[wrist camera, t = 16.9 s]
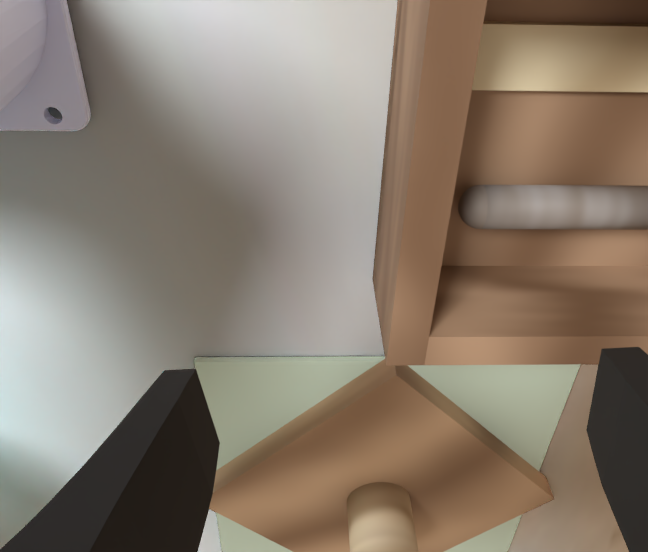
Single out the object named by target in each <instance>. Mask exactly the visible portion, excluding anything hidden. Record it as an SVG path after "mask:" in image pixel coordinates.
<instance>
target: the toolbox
mask: <svg viewBox="0 0 648 552" xmlns="http://www.w3.org/2000/svg"><path fill="white" fill-rule="evenodd" d="M373 284H374V291H375V297H376V303H377V310H378V316H379V322H380V328H381V335H382V341H383V347H384V354H385V360H386V366H392V365H565V364H599V360H600V355H601V349H604V348H624V347H640V348H641V349H642V350H643V351H644V352H645V353H646V354H648V0H398V4H397V15H396V26H395V37H394V48H393V59H392V70H391V81H390V93H389V104H388V115H387V126H386V137H385V148H384V159H383V170H382V181H381V192H380V203H379V215H378V226H377V237H376V248H375V259H374V270H373Z"/></svg>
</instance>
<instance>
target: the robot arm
mask: <svg viewBox="0 0 648 552" xmlns="http://www.w3.org/2000/svg"><path fill="white" fill-rule="evenodd" d="M49 107H53V108H56V109H57V110H59V111H60V113H61V115H62V119H56V118H54V117H53V116H51V115H50V113H49V111H48V108H49ZM90 118H91V111H90V107H89V102H88V97H87V93H86V88H85V83H84V79H83V74H82V69H81V65H80V60H79V55H78V51H77V46H76V41H75V37H74V32H73V27H72V23H71V18H70V14H69V9H68V4H67V0H0V131H79V130H82V129H83V128H84V127H86V125H87V124H88V122H89V120H90ZM587 433H588V437H589V440H590V444H591V448H592V452H593V456H594V459H595V463H596V466H597V470H598V473H599V477H600V480H601V483H602V486H603V489H604V491H605V494H606V496H607V499H608V501H609V504H610V506H611V509H612V511H613V513H614V516H615V518H616V521H617V523H618V526H619V528H620V530H621V533H622V535H623V538H624V540H625V542H626V545H627V547H628V550H629V552H648V354H646V353H645V352H644V351H643V350H642V349H641V348H640V347H624V348H604V349H601V355H600V360H599V365H598V371H597V376H596V382H595V387H594V393H593V398H592V404H591V409H590V414H589V420H588V425H587ZM219 445H220V442H219V439H218V436H217V433H216V429H215V426H214V423H213V420H212V417H211V414H210V411H209V408H208V405H207V401H206V398H205V395H204V392H203V389H202V386H201V383H200V380H199V377H198V374H197V370H196V369H184V370H165V371H164V372H163V373H162V374H161V375H160V376H159V377H158V379H157V380H156V381H155V382H154V383H153V384H152V386H151V387H150V388H149V389H148V390H147V392H146V393H145V394H144V395H143V396H142V398H141V399H140V400H139V401H138V402H137V404H136V405H135V406H134V407H133V408H132V410H131V411H130V412H129V413H128V414H127V416H126V417H125V418H124V419H123V420H122V422H121V423H120V424H119V425H118V426H117V428H116V429H115V430H114V431H113V432H112V433H111V435H110V436H109V437H108V438H107V439H106V440H105V441H104V443H103V444H102V445H101V446H100V447H99V448H98V450H97V451H96V452H95V453H94V454H93V455H92V456H91V458H90V459H89V460H88V461H87V462H86V463H85V464H84V466H83V467H82V468H81V469H80V470H79V471H78V472H77V473H76V474H75V475H74V476H73V477H72V479H71V480H70V481H69V482H68V483H67V484H66V485H65V486H64V487H63V488H62V489H61V490H60V491H59V492H58V493H57V494H56V495H55V497H54V498H53V499H52V500H51V501H50V502H49V503H48V504H47V505H46V506H45V507H44V508H43V509H42V510H41V511H40V512H39V513H38V514H37V515H36V516H35V517H34V518H33V519H32V520H31V521H30V522H29V523H28V524H27V525H26V526H25V527H24V528H23V529H22V530H21V531H20V532H19V533H18V534H17V535H15V536H14V537H13V538H12V539H11V540H10V541H9V542H8V543H7V544H6V545H5V546H3V547H2V548H1V549H0V552H197V551H198V547H199V544H200V540H201V536H202V533H203V529H204V525H205V521H206V518H207V514H208V510H209V506H210V502H211V499H212V494H213V488H214V482H215V475H216V468H217V461H218V453H219Z"/></svg>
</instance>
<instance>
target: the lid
mask: <svg viewBox="0 0 648 552" xmlns="http://www.w3.org/2000/svg"><path fill="white" fill-rule="evenodd" d="M553 499H554V497H553V494H552V492H551V489H550V486H549V484H548V481H547V478H546V477H545V476H544V475H543V474H541V473H540V472H539V471H538V470H536V469H535V468H534V467H533V466H531V465H530V464H529V463H528V462H527V461H525V460H524V459H523V458H522V457H520V456H519V455H518V454H517V453H515V452H514V451H513V450H512V449H510V448H509V447H508V446H507V445H505V444H504V443H503V442H502V441H501V440H499V439H498V438H497V437H496V436H494V435H493V434H492V433H491V432H489V431H488V430H487V429H486V428H484V427H483V426H482V425H481V424H479V423H478V422H477V421H476V420H474V419H473V418H472V417H471V416H470V415H468V414H467V413H466V412H465V411H463V410H462V409H461V408H460V407H458V406H457V405H456V404H455V403H453V402H452V401H451V400H450V399H448V398H447V397H446V396H445V395H443V394H442V393H441V392H440V391H439V390H437V389H436V388H435V387H434V386H432V385H431V384H430V383H429V382H427V381H426V380H425V379H424V378H422V377H421V376H420V375H419V374H417V373H416V372H415V371H414V370H413V369H411V368H410V367H409V366H408V365H392V366H386V360H385V359H384V360H382V361H381V362H379V363H378V364H376V365H375V366H373V367H372V368H370V369H368V370H367V371H365V372H364V373H362V374H361V375H359V376H358V377H356V378H355V379H353V380H352V381H350V382H349V383H347V384H346V385H344V386H343V387H341V388H340V389H338V390H337V391H335V392H334V393H332V394H331V395H329V396H328V397H326V398H325V399H323V400H322V401H320V402H319V403H317V404H316V405H314V406H313V407H311V408H310V409H308V410H307V411H305V412H304V413H302V414H301V415H299V416H298V417H296V418H295V419H293V420H292V421H290V422H289V423H287V424H286V425H284V426H283V427H281V428H280V429H278V430H277V431H275V432H274V433H272V434H271V435H269V436H268V437H266V438H265V439H263V440H262V441H260V442H258V443H257V444H255V445H254V446H252V447H251V448H249V449H248V450H246V451H245V452H243V453H242V454H240V455H239V456H237V457H236V458H234V459H233V460H231V461H230V462H228V463H227V464H225V465H224V466H222V467H221V468H219V469H218V470H216V475H215V482H214V488H213V494H212V499H211V502H210V506H209V509H211V510H213V511H214V512H216V513H218V514H220V515H222V516H224V517H226V518H228V519H230V520H232V521H234V522H236V523H238V524H240V525H242V526H244V527H246V528H248V529H250V530H252V531H254V532H255V533H257V534H259V535H261V536H263V537H265V538H267V539H269V540H271V541H273V542H275V543H277V544H279V545H281V546H283V547H285V548H287V549H289V550H291V551H293V552H444V551H446V550H448V549H450V548H452V547H454V546H457V545H459V544H461V543H463V542H465V541H467V540H469V539H471V538H473V537H475V536H478V535H480V534H482V533H484V532H486V531H488V530H490V529H492V528H494V527H496V526H499V525H501V524H503V523H505V522H507V521H509V520H511V519H513V518H515V517H517V516H520V515H522V514H524V513H526V512H528V511H530V510H532V509H534V508H536V507H538V506H540V505H543V504H545V503H547V502H549V501H551V500H553Z"/></svg>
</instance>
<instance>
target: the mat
mask: <svg viewBox="0 0 648 552" xmlns="http://www.w3.org/2000/svg"><path fill="white" fill-rule="evenodd" d="M384 359H385V356H330V357H195V360H194V365H195V369H196V370H197V374H198V377H199V380H200V383H201V386H202V389H203V392H204V395H205V398H206V401H207V405H208V408H209V411H210V414H211V417H212V420H213V423H214V426H215V429H216V433H217V436H218V439H219V442H220V445H219V453H218V461H217V468H216V470H218V469H219V468H221V467H222V466H224V465H225V464H227V463H228V462H230V461H231V460H233V459H234V458H236V457H237V456H239V455H240V454H242V453H243V452H245V451H246V450H248V449H249V448H251V447H252V446H254V445H255V444H257V443H258V442H260V441H262V440H263V439H265V438H266V437H268V436H269V435H271V434H272V433H274V432H275V431H277V430H278V429H280V428H281V427H283V426H284V425H286V424H287V423H289V422H290V421H292V420H293V419H295V418H296V417H298V416H299V415H301V414H302V413H304V412H305V411H307V410H308V409H310V408H311V407H313V406H314V405H316V404H317V403H319V402H320V401H322V400H323V399H325V398H326V397H328V396H329V395H331V394H332V393H334V392H335V391H337V390H338V389H340V388H341V387H343V386H344V385H346V384H347V383H349V382H350V381H352V380H353V379H355V378H356V377H358V376H359V375H361V374H362V373H364V372H365V371H367V370H368V369H370V368H372V367H373V366H375V365H376V364H378V363H379V362H381V361H382V360H384ZM580 365H581V364H565V365H408V366H409V367H410V368H411V369H413V370H414V371H415V372H416V373H417V374H419V375H420V376H421V377H422V378H424V379H425V380H426V381H427V382H429V383H430V384H431V385H432V386H434V387H435V388H436V389H437V390H439V391H440V392H441V393H442V394H443V395H445V396H446V397H447V398H448V399H450V400H451V401H452V402H453V403H455V404H456V405H457V406H458V407H460V408H461V409H462V410H463V411H465V412H466V413H467V414H468V415H470V416H471V417H472V418H473V419H474V420H476V421H477V422H478V423H479V424H481V425H482V426H483V427H484V428H486V429H487V430H488V431H489V432H491V433H492V434H493V435H494V436H496V437H497V438H498V439H499V440H501V441H502V442H503V443H504V444H505V445H507V446H508V447H509V448H510V449H512V450H513V451H514V452H515V453H517V454H518V455H519V456H520V457H522V458H523V459H524V460H525V461H527V462H528V463H529V464H530V465H531V466H533V467H534V468H535V469H536V470H538V471H539V470H540V468H541V465H542V462H543V460H544V457H545V455H546V452H547V450H548V447H549V444H550V442H551V439H552V437H553V434H554V432H555V429H556V426H557V424H558V421H559V419H560V416H561V414H562V411H563V408H564V406H565V403H566V401H567V398H568V396H569V393H570V391H571V388H572V385H573V383H574V380H575V378H576V375H577V373H578V370H579V367H580ZM216 516H217V522H218V529H219V536H220V543H221V550H222V552H293V551H291V550H289V549H287V548H285V547H283V546H281V545H279V544H277V543H275V542H273V541H271V540H269V539H267V538H265V537H263V536H261V535H259V534H257V533H255V532H254V531H252V530H250V529H248V528H246V527H244V526H242V525H240V524H238V523H236V522H234V521H232V520H230V519H228V518H226V517H224V516H222V515H220V514H218V513H216ZM521 516H522V515H520V516H517V517H515V518H513V519H511V520H509V521H507V522H505V523H503V524H501V525H499V526H496V527H494V528H492V529H490V530H488V531H486V532H484V533H482V534H480V535H478V536H475V537H473V538H471V539H469V540H467V541H465V542H463V543H461V544H459V545H457V546H454V547H452V548H450V549H448V550H446V551H444V552H508V550H509V547H510V545H511V542H512V539H513V537H514V534H515V532H516V529H517V527H518V524H519V522H520V519H521Z"/></svg>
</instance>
